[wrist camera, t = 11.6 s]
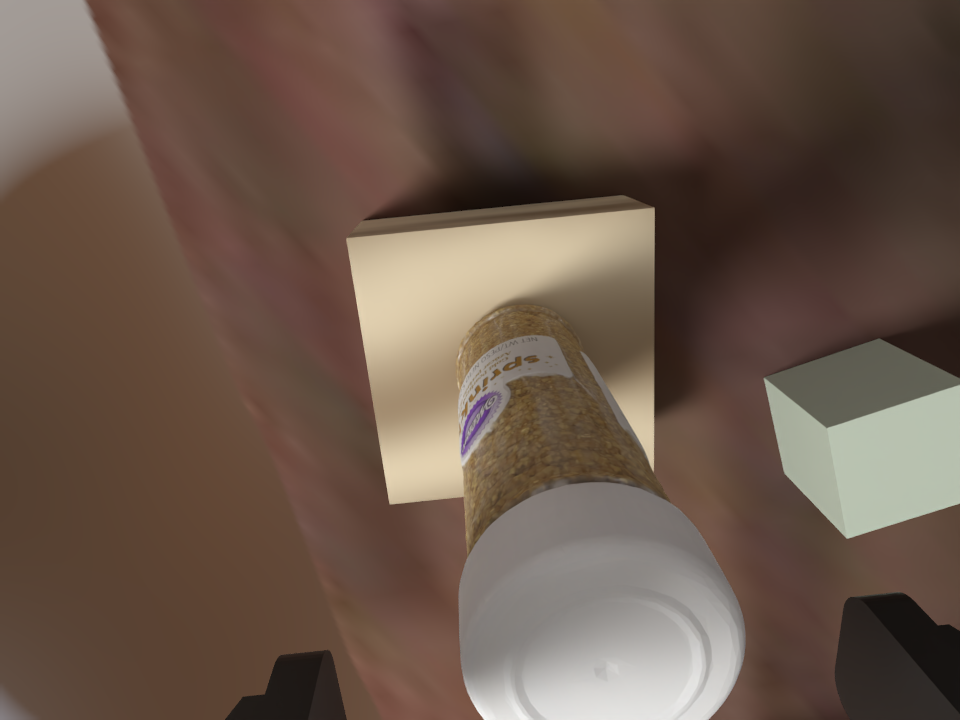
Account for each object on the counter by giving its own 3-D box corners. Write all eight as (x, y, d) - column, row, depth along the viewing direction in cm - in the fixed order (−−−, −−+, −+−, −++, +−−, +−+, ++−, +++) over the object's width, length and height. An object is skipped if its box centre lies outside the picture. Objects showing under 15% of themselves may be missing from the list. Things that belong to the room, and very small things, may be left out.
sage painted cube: (763, 376, 28) (826, 428, 23) (878, 338, 27) (967, 382, 23) (783, 472, 29) (847, 538, 25) (892, 437, 29) (977, 497, 24)
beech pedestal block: (362, 220, 24) (346, 238, 21) (623, 195, 25) (654, 207, 21) (397, 453, 28) (389, 504, 24) (626, 429, 28) (653, 476, 24)
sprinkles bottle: (475, 285, 21) (512, 517, 9) (603, 321, 22) (808, 585, 9) (438, 406, 23) (426, 754, 10) (559, 437, 24) (687, 800, 11)
